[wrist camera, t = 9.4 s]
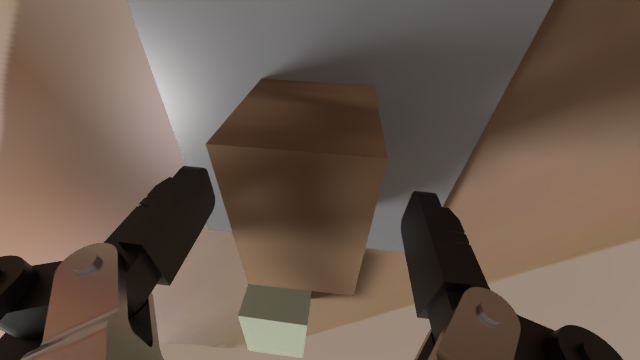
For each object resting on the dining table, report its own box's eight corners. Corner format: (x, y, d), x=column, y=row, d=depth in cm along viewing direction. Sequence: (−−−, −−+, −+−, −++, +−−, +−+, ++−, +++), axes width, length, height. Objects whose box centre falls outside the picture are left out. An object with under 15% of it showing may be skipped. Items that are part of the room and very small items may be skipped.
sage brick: (264, 291, 24) (248, 350, 21) (259, 249, 20) (238, 315, 16) (310, 297, 24) (302, 358, 20) (315, 257, 20) (307, 325, 16)
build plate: (214, 218, 18) (208, 229, 17) (129, -49, 9) (107, -52, 8) (413, 241, 17) (416, 254, 16) (543, -18, 8) (563, -17, 7)
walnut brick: (275, 201, 15) (248, 284, 11) (261, 78, 10) (205, 143, 6) (352, 209, 14) (353, 295, 10) (373, 85, 10) (388, 158, 6)
